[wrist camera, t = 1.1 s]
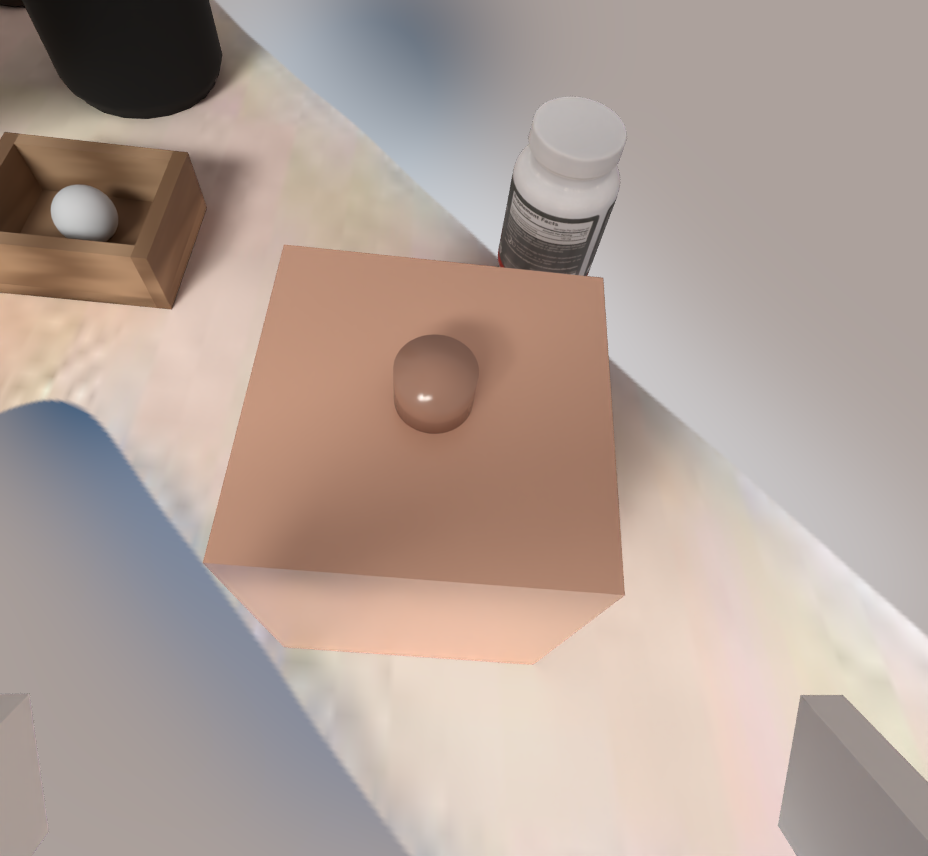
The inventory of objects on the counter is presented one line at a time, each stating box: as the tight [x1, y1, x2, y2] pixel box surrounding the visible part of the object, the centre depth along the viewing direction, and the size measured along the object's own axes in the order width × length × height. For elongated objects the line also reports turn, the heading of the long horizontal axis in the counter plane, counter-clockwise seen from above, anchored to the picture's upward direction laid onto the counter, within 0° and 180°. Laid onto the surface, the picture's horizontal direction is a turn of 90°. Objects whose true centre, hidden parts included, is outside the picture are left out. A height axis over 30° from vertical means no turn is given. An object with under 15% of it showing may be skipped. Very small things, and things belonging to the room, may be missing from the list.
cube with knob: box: [203, 245, 625, 665], centre depth 24 cm, size 11×11×15 cm
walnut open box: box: [0, 132, 207, 309], centre depth 35 cm, size 10×8×4 cm
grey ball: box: [51, 185, 118, 242], centre depth 35 cm, size 3×3×3 cm
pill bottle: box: [498, 96, 627, 276], centre depth 35 cm, size 6×6×10 cm
